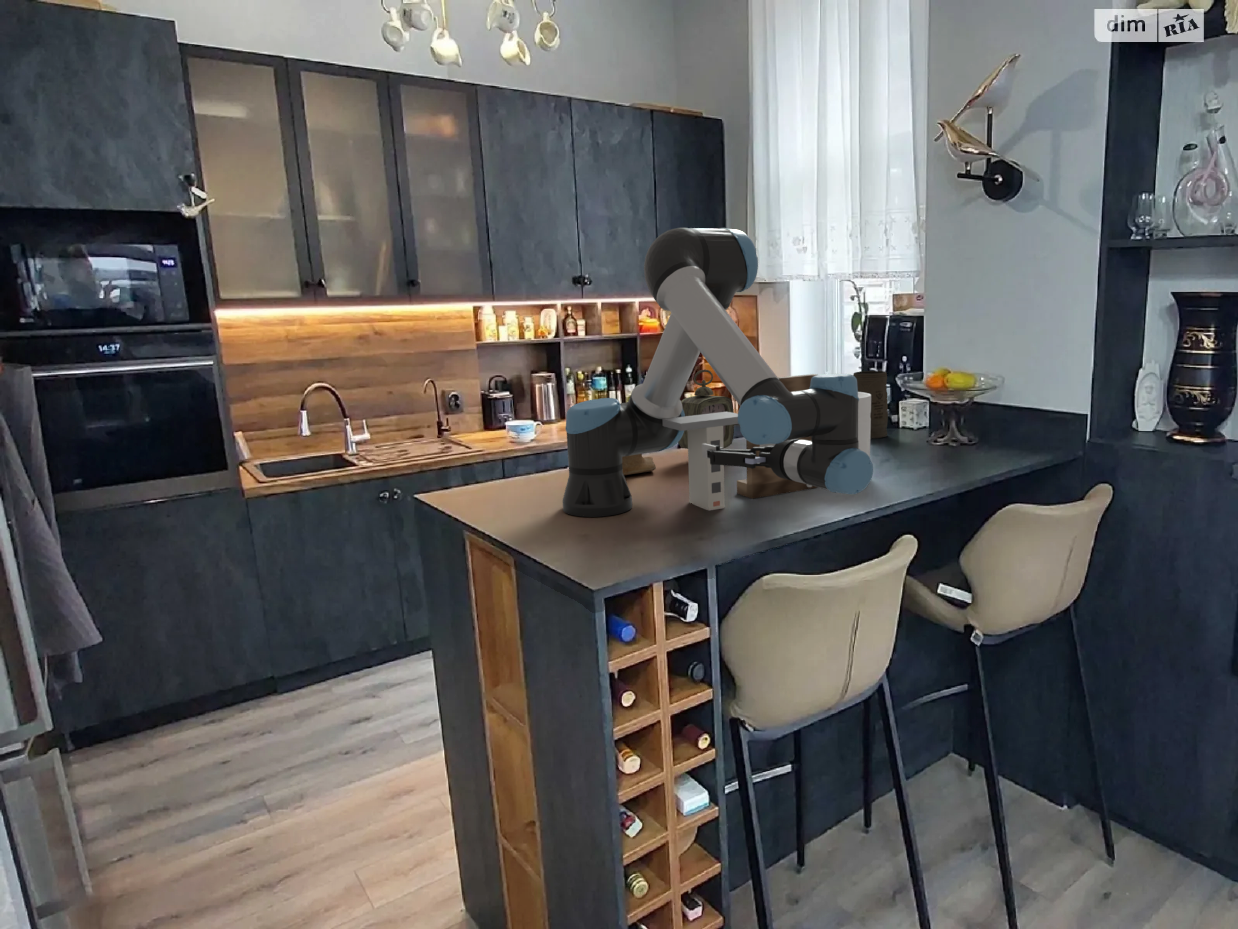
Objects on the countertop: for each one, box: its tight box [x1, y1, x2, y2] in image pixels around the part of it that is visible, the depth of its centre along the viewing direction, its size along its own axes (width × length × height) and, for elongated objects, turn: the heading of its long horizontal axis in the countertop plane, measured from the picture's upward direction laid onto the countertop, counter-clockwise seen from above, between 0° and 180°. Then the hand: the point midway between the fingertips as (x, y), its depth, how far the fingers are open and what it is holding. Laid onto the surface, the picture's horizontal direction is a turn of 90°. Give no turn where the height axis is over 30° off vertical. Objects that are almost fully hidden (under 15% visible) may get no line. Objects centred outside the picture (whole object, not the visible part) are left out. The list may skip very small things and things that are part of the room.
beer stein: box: [852, 370, 889, 440], centre depth 247 cm, size 15×11×20 cm
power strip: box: [662, 412, 739, 511], centre depth 172 cm, size 16×8×20 cm, turn 115°
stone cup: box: [622, 454, 657, 476], centre depth 206 cm, size 15×12×15 cm
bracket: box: [736, 373, 819, 500], centre depth 176 cm, size 18×18×26 cm
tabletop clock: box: [677, 369, 735, 450], centre depth 217 cm, size 14×9×25 cm, turn 129°
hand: (732, 446), depth 161 cm, fingers open, 13 cm apart
